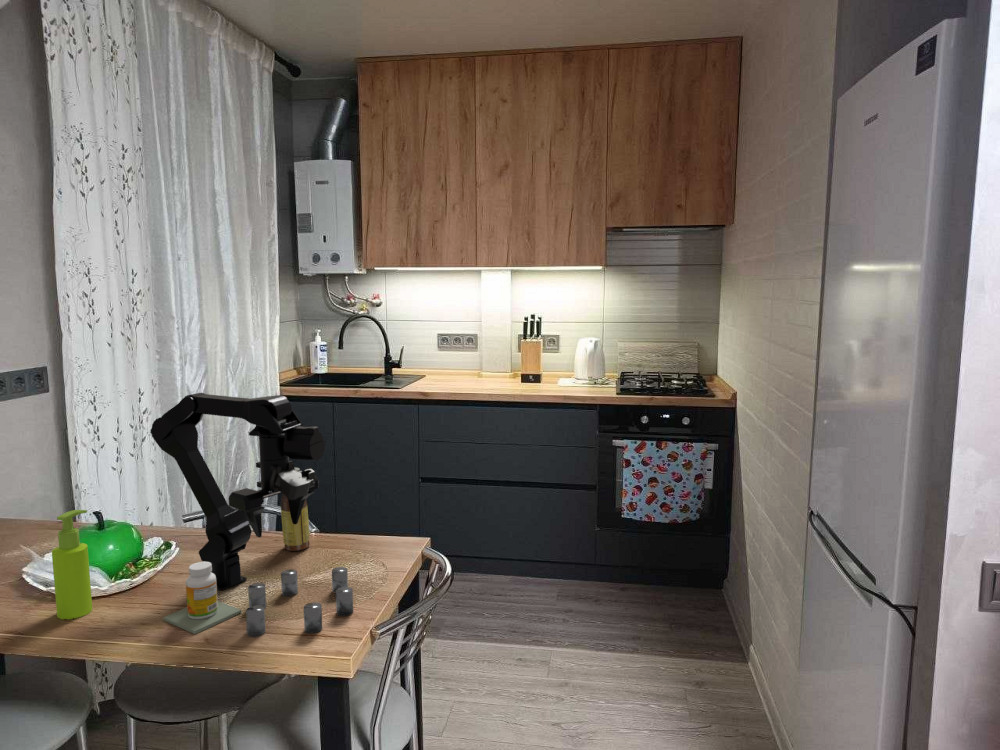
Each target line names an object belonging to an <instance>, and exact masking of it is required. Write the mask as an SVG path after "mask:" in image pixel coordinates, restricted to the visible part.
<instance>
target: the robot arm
mask: <svg viewBox="0 0 1000 750" xmlns="http://www.w3.org/2000/svg"><path fill="white" fill-rule="evenodd" d="M204 415H209V416H210V415H211V416H218V417H225V418H226V417H228V418H235V419H236V418H237V419H241V420H245V421H246V422H248V423H249V424H252V425H254V428H253V429H251V430H250V432H249V433H248V436H250V437H258V449H259V461H258V462H255V468H258V469H259V472H260V480H259V481H257V482H256V487H257V488H260V489H258V490H256V489H252V488H247V487H246V488H242V489H239V490H235V491H232V492H231V493H230V495H228V502H227V500H226V498H225V497H224V494H223V492H222V490H221V489H220V486H219V485H218V483H217V481H216V479H215V478H214V475H213V473H212V472H211V470H210V468H209V467H208V466H209V465H207V462H206V461H205V459H204V457H203V455H202V453H201V451H200V449H199V447H198V444H199V432H198V430H197V425H198V424H199V423H200V422H201V421H202V419H203V417H204ZM150 435H151V437H152V438H153V440H154V441H155V443H156V445H157V446H158V447H159V448H160V450H162V451H163V452H165V453H166V454H168V455H169V456H171V457H172V458H173V459H174V460H175V462H176V463H177V465H178V468H179V469H180V471H181V473H182V475H183V477H184V478H185V480H186V482H187V484H188V487H189V488H190V490H191V492H192V493H193V495H194V498H195V499H196V501H197V504H198V505H199V507H200V509H201V511H202V512H203V515H204V516H205V534H206V538H207V540H208V541H207V542H206V543H205V544H204V546H202V547H201V549H199V551H198V555H199V557H200V560H201V561H200V562H210V563H211V564H212V571H211V573H213V574H215V576H216V584H217V591H224V590H226V589H229V588H232V587H233V586H237V585H238V584H241V583H243V582H246V581H247V577H246V576H243V575H242V572H241V571H242V569H241V563H240V555H239V552H241V551H244V550H245V549H246V546H247V543H248V542H249V540H250V539H251V536H252V535H251V534H252V531H253V533H254V535H255V536H256V537H257V538H262V533H263V525H262V524H263V521H262V519H263V518H262V513H263V511H264V510H265V508H266V507H265V506H262V505H263V504H264V500H265V499H267V498H271V497H274V496H277V495H281V494H282V495H283V494H284V495H286V497H287V498H288V503H289V509H290V515H291V519H292V523H293V524H295V525H296V524H297V523H298V520H299V517H300V514H301V511H302V508H303V505H304V502H305V500H306V501H307V499H308V498H309V497H310V496H311V495H312V494H314V493H315V490H317V489H319V488H320V484H319V483H320V480H319V478H318V477H317V476H316V472H315V470H313V469H312V468H307V469H304V470H303V471H302V470H300V471H299V472H297V471H295V468H296V467H295V464H294V461H293V460H299V461H301V460H302V461H303V460H304V461H315V462H317V461H319V460H320V459H322V457H323V455H324V454H325V449H326V440H325V439H324V436H323V434H322V433H321V432H320V428H319V426H316V425H314V426H304V424H303V422H302V420H301V419H300V417H299V416H298V415H297V413H296V411H294V409H293V408H292V404H291V403H290V401H289V400H288V397H286V396H284V395H283V394H282V395H281V394H280V395H279V394H277V395H267V396H259V397H253V398H252V397H251V398H248V397H238V396H237V397H236V396H228V395H227V396H226V395H219V394H218V395H217V394H209V393H204V392H197V393H196V392H195V393H193V394H192V393H191V394H187V395H185V396H184V397H182V399H180V401H179V402H178V403H176V404H175V405H174V406H172V407H171V408H170V409H168V411H166V412H165V413H163V415H161V417H158V418H156V419H155V420H153V422H152V425H151V429H150ZM290 459H291V460H290Z"/></svg>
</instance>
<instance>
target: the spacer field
mask: <svg viewBox="0 0 1000 750" xmlns="http://www.w3.org/2000/svg"><path fill="white" fill-rule="evenodd" d="M348 575H349V574H348V568H347V567H344V566H338V567H334V568H333V569H332V570H331V585H332V586H331V588H332V591H333V592H335V593H336V594H335V593H334V594H335V605H336V606H335V607H336V608H335V609H336V615H337V614H338V615H337V616H339V615H340V616H339V617H347V616H350V614H351V615H352V614H353V613H354V594H353V593H354V592H353V588H352V587H349V581H348ZM280 581H281V582H280V583H281V584H280V585H281V595H282V597H293V595H294V596H296V595H297V594H298V593H299V588H298V587H299V586H298V584H299V583H298V571H297V570H296V569H294V568H293V569H291V568H289V569H285V570H282V571H281V573H280ZM247 589H248V590H247V591H248V595H247V597H248V607H247V608H246V610H245V616H246V617H245V618H246V635H247V636H248V637H250V638H251V637H252V638H256V637H260V636H263V635H264V634H265V633H266V614H265V609H266V608H267V596H266V595H267V593H266V584H265V583H263V582H256V583H251V584H249V585H248V587H247ZM333 592H332V593H333ZM295 594H296V595H295ZM322 609H323V607H322V603H321V602H309V603H308V602H307V604H304V606H303V625H304V628H303V629H304V632H305V634H311V635H313V634H317V633H320V632H321V631H322V630H323V613H322V611H323V610H322Z"/></svg>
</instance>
